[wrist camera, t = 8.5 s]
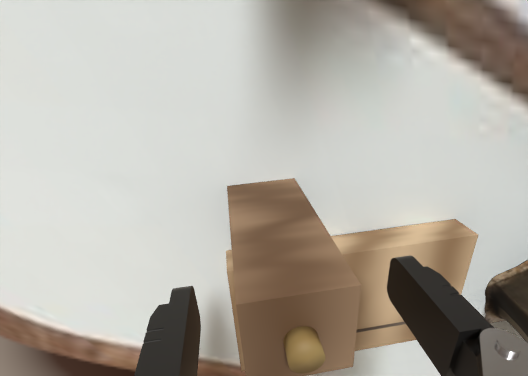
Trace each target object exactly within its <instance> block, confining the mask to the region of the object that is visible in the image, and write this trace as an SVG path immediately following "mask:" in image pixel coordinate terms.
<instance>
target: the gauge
mask: <svg viewBox="0 0 528 376" xmlns="http://www.w3.org/2000/svg"><path fill="white" fill-rule="evenodd" d="M227 191H228V204H229V218H230V231H231V245H232V258H233V271H234V285H235V298H236V309H237V316H238V323H239V330H240V338H241V345H242V352H243V360H244V367H245V374H246V376H306V375H311V374H317V373H322V372H327V371H333V370H338V369H343V368H349V367H353V361H354V352H355V342H356V332H357V322H358V312H359V302H360V292H361V284H360V282H359V281H358V279H357V278H356V276H355V274H354V273H353V271H352V270H351V268H350V266H349V265H348V263H347V262H346V260H345V258H344V257H343V255H342V254H341V252H340V250H339V249H338V247H337V246H336V244H335V242H334V241H333V239H332V238H331V236H330V234H329V233H328V231H327V230H326V228H325V226H324V225H323V223H322V222H321V220H320V218H319V217H318V215H317V214H316V212H315V210H314V209H313V207H312V206H311V204H310V202H309V201H308V199H307V198H306V196H305V195H304V193H303V191H302V190H301V188H300V187H299V185H298V183H297V182H296V180H295V179H294V178H293V179H285V180H276V181H267V182H258V183H250V184H241V185H232V186H227Z"/></svg>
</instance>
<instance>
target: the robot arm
mask: <svg viewBox="0 0 528 376" xmlns="http://www.w3.org/2000/svg"><path fill="white" fill-rule="evenodd" d="M387 293H388V296H389V299H390V301H391V303H392V304H393V306H394V307H395V309H396V310H397V312H398V313H399V314H400V316H401V317H402V319H403V320H404V322H405V323H406V325H407V326H408V328H409V329H410V331H411V332H412V334H413V335H414V336H415V338H416V339H417V341H418V342H419V344H420V345H421V347H422V348H423V350H424V351H425V353H426V354H427V355H428V357H429V358H430V360H431V361H432V363H433V364H434V366H435V367H436V369H437V370H438V372H439V373H440V375H441V376H528V343H527V342H526V341H524V340H523V339H522V338H520V337H519V336H517V335H515V334H513V333H511V332H509V331H506V330H503V329H499V328H494V327H493V326H492V325H491V324H490V323H489V322H488V321H487V320H486V319H485V318H484V317H483V316H482V315H481V314H480V313H479V312H478V311H477V310H476V309H475V308H474V307H473V306H472V305H471V304H470V303H469V302H468V301H467V300H466V299H465V298H464V297H463V296H462V295H460V294H459V292H458V291H457V290H456V289H455V288H454V287H453V286H451V284H450V283H449V282H448V281H447V280H446V279H445V278H444V277H443V276H442V275H441V274H440V273H438V272H436V271H435V270H433V269H431V268H429V267H428V266H426V267H423V266H422V265H421V264H420V263H419V262H418V261H417V259H416V258H415V257H413V256H411V255H409V256H402V257H395V258H392V259H391V261H390V267H389V274H388V281H387ZM200 331H201V324H200V314H199V310H198V305H197V301H196V296H195V292H194V288H193V286H188V287H181V288H174V289H173V290H172V292H171V297H170V302H169V304H163V305H159V306H158V307H157V309H156V310H155V311H154V313H153V314H152V316H151V317H150V320H149V324H148V327H147V333H146V335H145V338H144V344H143V346H142V349H141V353H140V357H139V360H138V364H137V368H136V371H135V375H134V376H197V370H198V357H199V344H200Z"/></svg>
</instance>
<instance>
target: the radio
mask: <svg viewBox="0 0 528 376" xmlns="http://www.w3.org/2000/svg"><path fill="white" fill-rule="evenodd" d="M485 296H486V303H485V313H486V317H485V319H486V320H487V321H488V322H489V323H493V322H499V321H507V322H509V323H510V324H511V325H512V326H513V327H514V328H515V329H516V330H517V332H518V333H519V334H520V335H521V336H522V337H523V339H524V340H525V341H526V342H527V343H528V260H527V261H525V262H524V263H522V264H521V265H519V266H517V267H515V268H512V269H510V270H508V271H505V272H503V273H501V274H498V275H496V276H495V277H494V278H492V279H491V280H490V282H489V283H488V285H487V287H486V290H485Z"/></svg>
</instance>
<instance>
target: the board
mask: <svg viewBox="0 0 528 376" xmlns="http://www.w3.org/2000/svg"><path fill="white" fill-rule="evenodd" d="M331 238H332V239H333V241H334V242H335V244H336V246H337V247H338V249H339V250H340V252H341V254H342V255H343V257H344V258H345V260H346V262H347V263H348V265H349V266H350V268H351V270H352V271H353V273H354V274H355V276H356V278H357V279H358V281H359V282H360V284H361V292H360V302H359V312H358V322H357V332H356V342H355V351H357V350H362V349H368V348H373V347H379V346H384V345H390V344H395V343H401V342H406V341H412V340H417V339H416V338H415V336H414V335H413V334H412V332H411V331H410V329H409V328H408V326H407V325H406V323H405V322H404V320H403V319H402V317H401V316H400V314H399V313H398V312H397V310H396V309H395V307H394V306H393V304H392V303H391V301H390V299H389V296H388V293H387V281H388V274H389V267H390V261H391V259H392V258H395V257H402V256H409V255H411V256H413V257H415V258H416V259H417V261H418V262H419V263H420V264H421V265H422V266H423V267H426V266H428V267H429V268H431V269H433V270H435V271H436V272H438V273H440V274H441V275H442V276H443V277H444V278H445V279H446V280H447V281H448V282H449V283H450V284H451V286H453V287H454V288H455V289H456V290H457V291H458V292H459V294H460V295H461V293H462V290H463V286H464V283H465V279H466V276H467V272H468V269H469V265H470V262H471V258H472V255H473V252H474V248H475V245H476V241H477V238H478V234H476V233H475V232H473V231H472V230H471V229H469V228H468V227H466V226H465V225H463V224H462V223H460V222H459V221H457V220H456V219H452V220H445V221H438V222H431V223H423V224H416V225H409V226H402V227H394V228H387V229H380V230H373V231H365V232H358V233H351V234H344V235H336V236H331ZM226 259H227V275H228V281H229V288H230V295H231V302H232V309H233V316H234V323H235V330H236V336H237V343H238V350H239V357H240V364H241V371H245V367H244V360H243V352H242V345H241V338H240V330H239V323H238V316H237V309H236V298H235V285H234V271H233V258H232V250H228V251H226Z"/></svg>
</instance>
